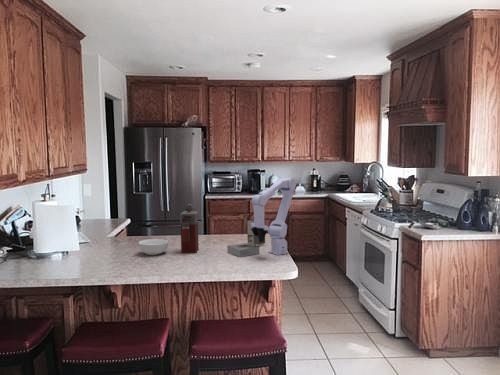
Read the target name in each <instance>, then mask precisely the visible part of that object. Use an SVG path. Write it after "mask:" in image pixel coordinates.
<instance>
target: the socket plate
mask: <svg viewBox="0 0 500 375" xmlns="http://www.w3.org/2000/svg"><path fill="white" fill-rule="evenodd" d="M226 252H227V253H228V254H230V253H231V255H234V256H235V257H238V258H243V257H249V256H250V257H251V256H256V255H260V246H258V247H257V246H254V245H251V244H248V242H245V243H244V242H243V243H237V244H229V245H228V244H227V251H226Z"/></svg>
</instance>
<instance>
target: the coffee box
mask: <svg viewBox="0 0 500 375" xmlns="http://www.w3.org/2000/svg"><path fill="white" fill-rule="evenodd" d="M251 223H254V218H253V219H249V220H247V243H248V244H251V245H254V246H256V244H254V234H253V232H252V230H251V228H253V227H251ZM258 247H260V244H259V245H258Z"/></svg>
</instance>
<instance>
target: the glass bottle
mask: <svg viewBox="0 0 500 375" xmlns="http://www.w3.org/2000/svg"><path fill="white" fill-rule="evenodd" d="M184 209H185V210H184V211H182V212H181V213H180V214H179V215H180V217H179V218H180V220H179V221H180V252H181V254H197V253H198V252H197V251H199V247H200V246H199V212H198V211H196V210H193V209H194V207H193V205H192V204H191V203H187V204H186V205H185V208H184Z"/></svg>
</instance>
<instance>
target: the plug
mask: <svg viewBox="0 0 500 375" xmlns="http://www.w3.org/2000/svg"><path fill="white" fill-rule="evenodd" d="M254 244H256V246H258V245H259V244H260V245H261V246H264V245H265V244H266V237H265V238H264V242H260V241H259V234H258V235H254ZM258 247H259V246H258Z"/></svg>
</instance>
